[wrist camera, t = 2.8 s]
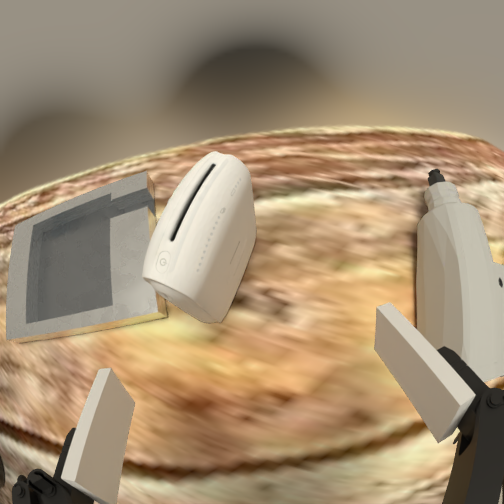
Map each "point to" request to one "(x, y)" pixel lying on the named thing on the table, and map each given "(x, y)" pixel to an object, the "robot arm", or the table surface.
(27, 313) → the plate
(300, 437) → the table surface
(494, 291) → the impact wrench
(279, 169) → the table surface
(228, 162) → the photo printer
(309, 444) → the table surface
